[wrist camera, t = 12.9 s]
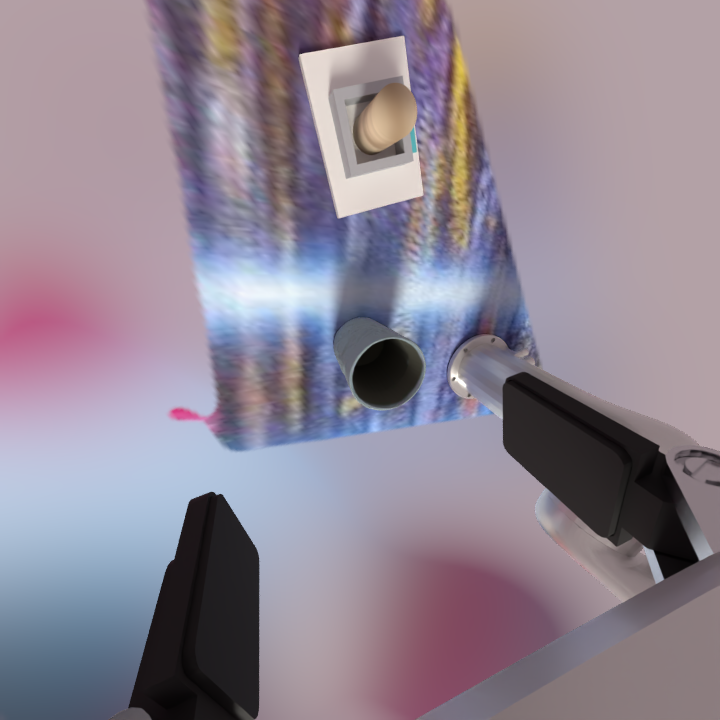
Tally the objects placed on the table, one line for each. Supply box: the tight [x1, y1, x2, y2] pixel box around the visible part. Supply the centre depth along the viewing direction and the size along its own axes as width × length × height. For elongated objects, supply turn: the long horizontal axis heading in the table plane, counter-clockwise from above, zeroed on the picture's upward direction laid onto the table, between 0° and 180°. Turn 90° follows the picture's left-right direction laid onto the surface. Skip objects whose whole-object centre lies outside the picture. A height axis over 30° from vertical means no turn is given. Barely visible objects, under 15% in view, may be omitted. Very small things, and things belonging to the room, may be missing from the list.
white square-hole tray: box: [299, 36, 423, 218], centre depth 36 cm, size 12×16×4 cm
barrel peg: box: [353, 83, 417, 155], centre depth 33 cm, size 4×4×8 cm
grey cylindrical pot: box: [333, 317, 426, 410], centre depth 43 cm, size 10×10×12 cm
